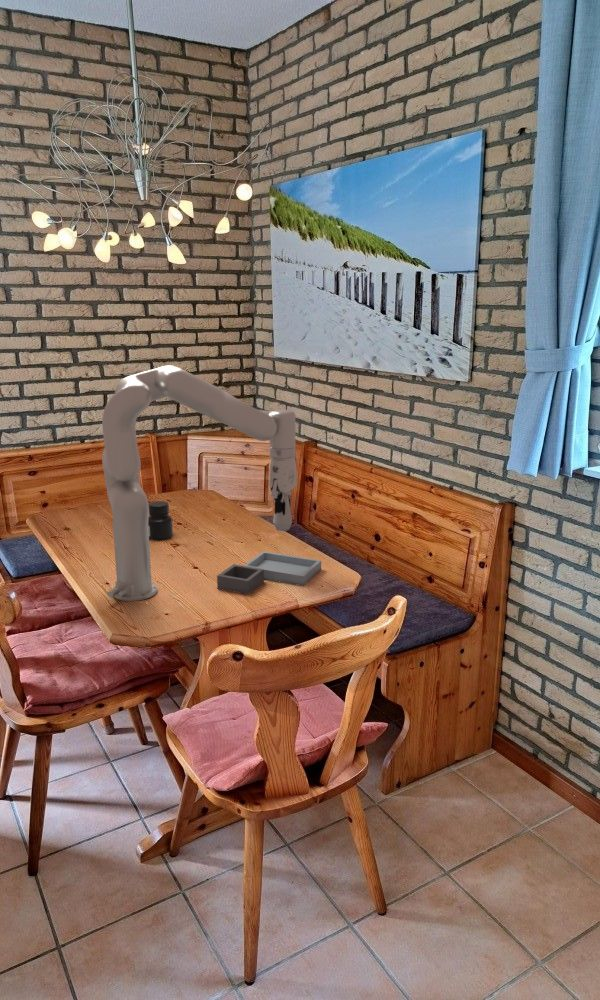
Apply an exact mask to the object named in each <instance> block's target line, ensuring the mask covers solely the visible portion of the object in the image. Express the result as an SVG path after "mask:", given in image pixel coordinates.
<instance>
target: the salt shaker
mask: <svg viewBox="0 0 600 1000" xmlns="http://www.w3.org/2000/svg"><path fill="white" fill-rule="evenodd" d="M278 491H280V490H278ZM289 494H290V491H289V492H287V493H284V502H285V515H283V513H282V512H281V513H276V514H275V512H274V514H273V519H272V523H273V525H274V527H275V529H276V531H279V532H286V531H289V530H290V528H291V526H292V523H293V516H292V511H291V503H290V504H289V499H290V498H288V495H289ZM278 495H280V496H281V494H278Z"/></svg>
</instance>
